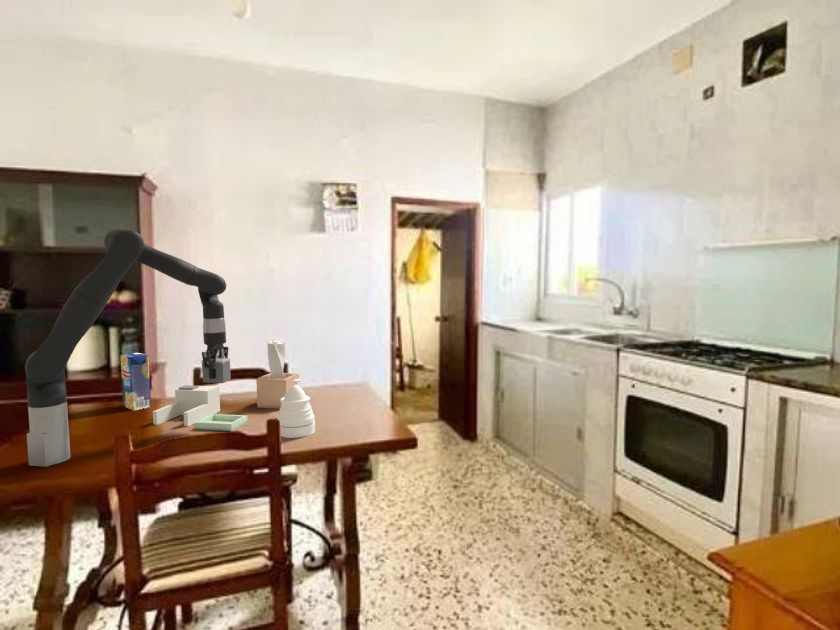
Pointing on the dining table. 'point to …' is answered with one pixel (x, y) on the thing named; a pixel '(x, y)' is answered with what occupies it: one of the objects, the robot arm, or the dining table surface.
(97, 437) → the dining table surface
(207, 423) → the tray
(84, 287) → the robot arm
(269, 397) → the open tan box
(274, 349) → the skyscraper
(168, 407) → the white dispenser chute
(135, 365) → the beverage box
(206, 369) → the grey gripped cube
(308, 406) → the honey pot
